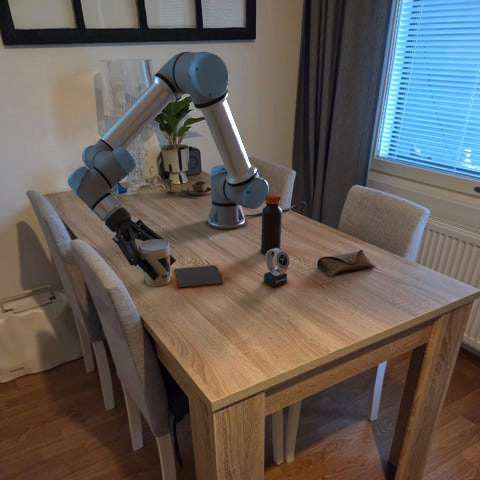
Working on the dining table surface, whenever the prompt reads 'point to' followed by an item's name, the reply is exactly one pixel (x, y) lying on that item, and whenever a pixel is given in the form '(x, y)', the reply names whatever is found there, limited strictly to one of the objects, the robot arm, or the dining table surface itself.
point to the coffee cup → (156, 260)
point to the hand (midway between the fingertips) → (165, 270)
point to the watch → (278, 275)
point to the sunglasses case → (344, 263)
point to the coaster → (197, 276)
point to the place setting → (194, 189)
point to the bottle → (271, 223)
